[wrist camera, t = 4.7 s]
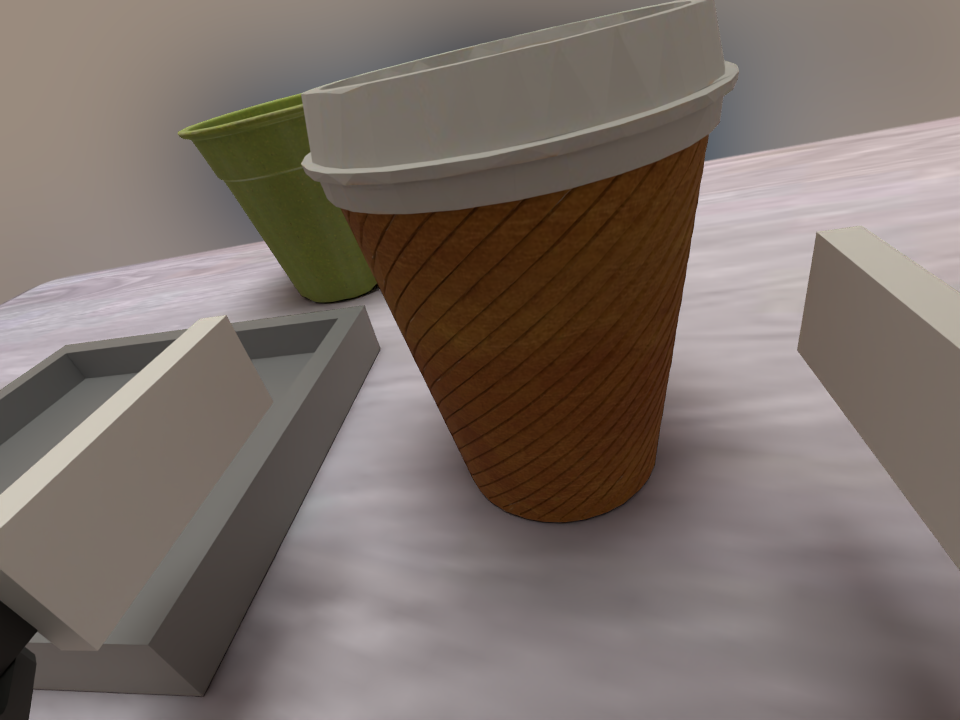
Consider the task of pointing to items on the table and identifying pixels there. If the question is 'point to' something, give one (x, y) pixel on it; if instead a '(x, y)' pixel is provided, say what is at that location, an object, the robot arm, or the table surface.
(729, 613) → the table surface
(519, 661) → the table surface
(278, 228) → the plant pot
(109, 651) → the serving tray
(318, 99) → the disposable coffee cup
